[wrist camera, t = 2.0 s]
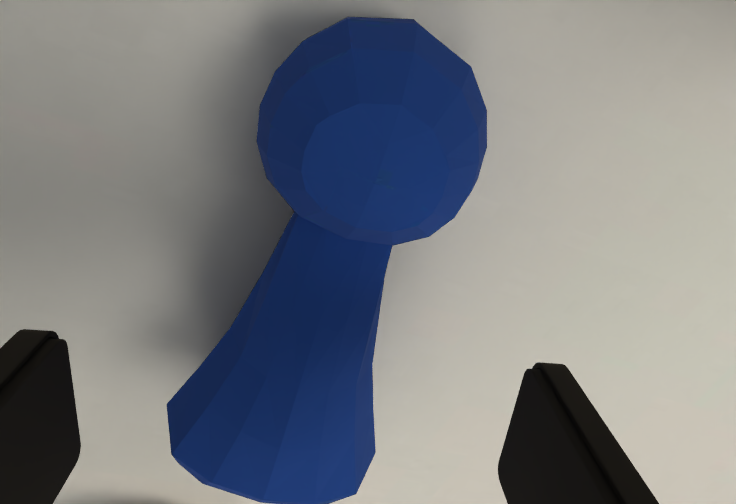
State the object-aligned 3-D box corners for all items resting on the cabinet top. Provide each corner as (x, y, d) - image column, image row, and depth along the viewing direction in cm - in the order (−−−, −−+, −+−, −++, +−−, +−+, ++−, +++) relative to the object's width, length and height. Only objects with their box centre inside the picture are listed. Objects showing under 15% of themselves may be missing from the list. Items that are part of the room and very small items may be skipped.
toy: (351, 423, 21) (515, 59, 15) (351, 575, 16) (612, 98, 10) (184, 384, 20) (290, -30, 14) (122, 533, 15) (252, -45, 8)
